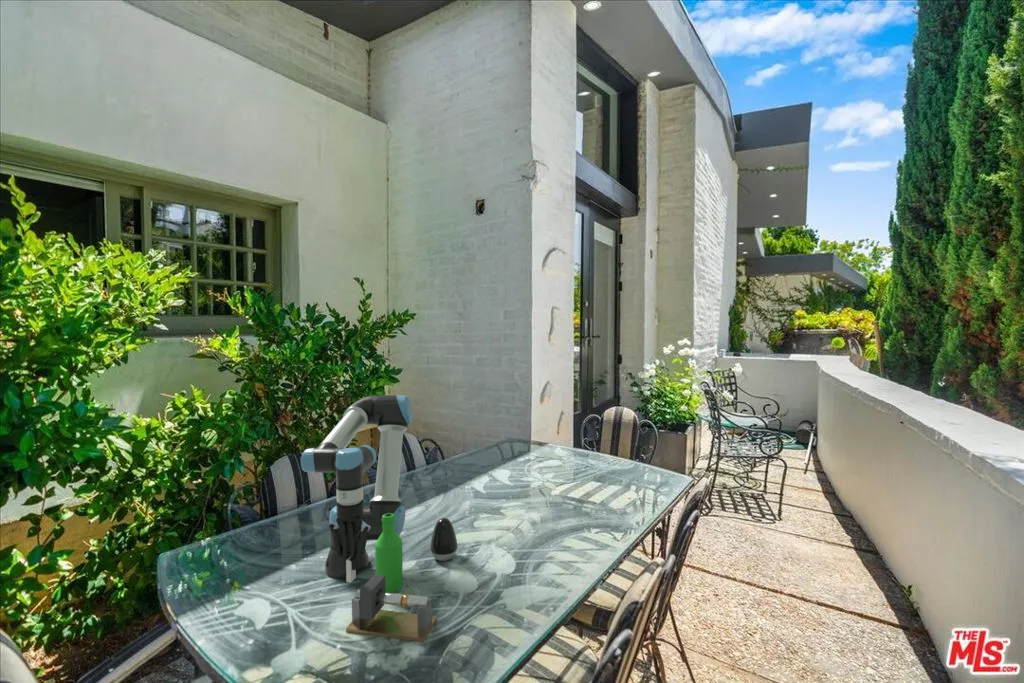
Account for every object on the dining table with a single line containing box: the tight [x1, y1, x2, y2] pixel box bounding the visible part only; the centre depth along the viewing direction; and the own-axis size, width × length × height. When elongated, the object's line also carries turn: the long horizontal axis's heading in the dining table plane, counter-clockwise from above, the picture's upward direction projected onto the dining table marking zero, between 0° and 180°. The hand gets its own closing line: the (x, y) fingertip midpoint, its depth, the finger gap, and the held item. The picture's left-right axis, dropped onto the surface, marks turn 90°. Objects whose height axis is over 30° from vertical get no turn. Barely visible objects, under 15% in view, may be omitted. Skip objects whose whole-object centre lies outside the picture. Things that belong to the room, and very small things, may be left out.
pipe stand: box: [345, 588, 438, 643], centre depth 133 cm, size 24×10×10 cm, turn 78°
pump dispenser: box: [429, 517, 458, 562], centre depth 173 cm, size 10×10×15 cm
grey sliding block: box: [359, 574, 386, 620], centre depth 134 cm, size 4×8×8 cm, turn 168°
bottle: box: [374, 513, 404, 593], centre depth 152 cm, size 9×9×25 cm
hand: (351, 579), depth 135 cm, fingers closed
